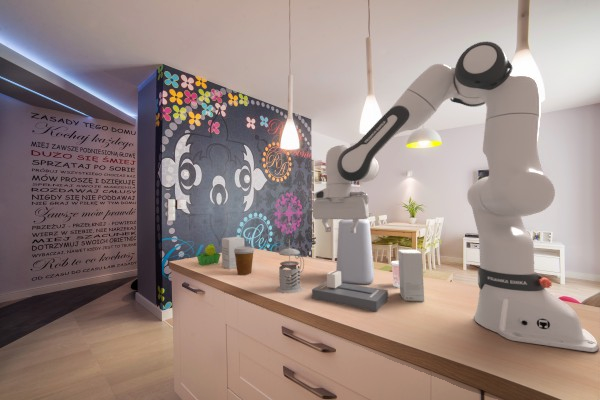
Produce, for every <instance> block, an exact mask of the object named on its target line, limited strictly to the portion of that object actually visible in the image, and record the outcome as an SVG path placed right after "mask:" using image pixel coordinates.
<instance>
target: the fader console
mask: <svg viewBox="0 0 600 400" xmlns="http://www.w3.org/2000/svg"><path fill="white" fill-rule="evenodd" d="M311 298H312V299H315V300H319V301H324V302H329V303H334V304H338V305H343V306H347V307H353V308H356V309H362V310H367V311H371V312H376V313H377V312H378V311H379V310H380V309H381V308H382V306H384V305H385V303H386V302H387V301H388V299H389V291H388V289H383V288H377V287H370V286H365V285H360V284H354V283H343V282H341V285H340V286H338V287H336V288H331V287H327V280H326V281H324V282H323V283H321V284H319V285H318V286H315V287H314V288H312V289H311Z"/></svg>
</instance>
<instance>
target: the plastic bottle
mask: <svg viewBox="0 0 600 400" xmlns="http://www.w3.org/2000/svg"><path fill="white" fill-rule="evenodd" d="M370 224H371V222H370V220H369V219H368V218H367V219H359V223H358V225H357V227H356V233H350V228H351V227H353V225H354V223H353V219H340V221H338V228H337V229H338V230H337V232H338V233H337V235H338V236H337V249H336V250H337V251H336V268H335V269H336V270H335V271H341V283H347V284H353V285H369V284H372V283H373V282H374V279H375V267H374V257H373V247H372V246H373V244H372V234H371V225H370Z"/></svg>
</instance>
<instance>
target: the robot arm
mask: <svg viewBox="0 0 600 400" xmlns="http://www.w3.org/2000/svg"><path fill="white" fill-rule="evenodd" d="M513 68H514V66H513V65H512V63H511V62H510V61H509V59H508V58H507V56H506V54H505V52H504V50H503V48H501V47H500V45H498V44H497V43H495V42H492V41H481V42H476V43H474V44H471V45H470V46H469V47H468V48H466V49H465V50H464V51H463V52H462V53H461V55H460V56H459V58H458V60H457V62H456V64H455V67H449V66H448V65H447V64H443V63H435V64H433V65H430V66H429V67H428V68H426V69H425V70H424V71H423V72H422V73H421V74H420V75H418V77H417V78H416V79H415V80H413V82H412V83H411V84H410V85H409V86H408V88H406V90H405V91H404V92H403V93H402V95H400V97H399V99H397V100H396V102H395V103H394V104H393V105H392V106H391V107H390V108H389V109H388V110H387V111H386V112H385V114H383V116H382V117H381V118H380V119H379V120H377V121H376V123H375V124H374V125H373V126H371V128H370V129H369V130H368V131H367V132H366V134H364V136H362V137H361V139H359V141H357V142H356V143H355V144H354V145H351V146H350V147H349V146H347V145H344V144H343V145H336V146H334V147H331V148H330V149H328V151H326V157H325V175H326V183H325V188H323V189H321V190H318V191H316V192H314V193H313V198H314V200H313V204H312V217H313V219H314V220H321V223H322V225H323V226H324V229H325V232H326V233H331V232H332V226H329V224H328V222H329V220H343V219H353V223H354V225H353V227H351V228H350V233H356V227H357V225H358V223H359V219H367V220H368V218H369V217H370V211H369V210H370V209H369V195H368V194H367V193H366V192H364V191H352V190H353V189H352V188H353V187H352V182H361V183H366V182H371V181H373V180H374V179H375V178H376V177H377V176H378V174H379V172H380V163H379V161H378V160H377V159H376V155H377V154H379V152H380V151H381V150H382V149H383V148H384V147H385V146H386V145H387V144H388V143H389V142H390V141H391V140H392V139H393V138H395V136H397V135H398V134H400V133H402V132H405V131H413V130H416V129H418V128H420V127H421V126H422V125H424V124H425V123H426V122H427V121H428V120H429V119H430V118H431V117H433V116H434V114H435V113H436V112H437V111H438V110H439V108H441V106H442V105H443V104H444V103H445V102H446V101H448V100H450V101H451V102H453V103H457V104H460V105H463V106H466V107H471V108H472V107H473V108H476V107H481V106H483V105H485V107H486V114H485V121H484V122H485V123H484V132H483V142H482V152H483V154H484V155H485V157H486V160H487V165H488V176H485V177H482V178H481V177H480V178H479V179H478V180H476V181H475V182H474V183H473V184H472V185H471V186H470V187H469V189H468V191H467V194H466V195H467V201H468V204H469V206H470V207H471V209H472V213H473V217H474V223H475V226H476V230H477V236H478V244H479V245H478V247H479V266H478V269H477V285H478V288H479V293H478V294H479V295H478V300H477V301H478V302H477V305H476V306H477V307H476V311H475V314H474V316H473V319H474V321H475V322H476V323H478V324H479V325H480V326H482V327H484V328H485V329H487V330H490V331H493V332H495V333H497V334H498V335H500V336H502V337H503V338H505V339H507V340H510V341H515V342H522V343H527V344H536V345H541V346H542V345H543V346H547V347H549V346H550V347H553V348H554V347H555V348H562V349H569V350H576V351H580V352H581V351H583V352H590V353H594V352H597V351H598V349H599V345H598V342H597V340H596V338H595V337H594V335H592V334H591V332H589V331H588V330H586V329H585V328H583V327H582V323H581V321H580V318H579V316H578V314H577V312H576V311H575V310H574V309H573V308H572V307H571V306H570V305H569V304H567V303H566V302H565V301H563V300H561V299H560V298H559V297H557V296H556V295H554V294H553V293H551V291H549V290H547V289H550V288H551V287H552V286H553V283H552V281H551V280H550V279H549V278H547V277H545V276H543V275H542V274H540V273H538V272H536V271H535V254H534V253H535V249H534V248H535V247H534V240H533V238H532V237H531V235H530V234H529V233H528V232H527V230H526V227H525V225H524V223H523V220H522V218H523V217H526V216H527V217H528V216H531V215H534V214H539V213H542V212H543V211H545V210H546V209H548V208H549V207H550V206H551V205H552V203H553V201H554V199H555V196H556V195H555V194H556V189H555V186H554V184H553V182H552V180H551V179H550V178H549V177H548V176H546V175H545V174H544V171H543V169H542V168H543V167H542V166H541V162H540V157H539V151H538V150H539V149H538V148H539V147H538V143H539V142H538V141H539V130H540V129H539V128H540V119H541V93H540V86H539V83H538V82H539V81H538V80H537V79H536V78H535V77H533V76H531V75H526V74H517V75H516V74H515V75H514V74H511V73H512V71H513Z"/></svg>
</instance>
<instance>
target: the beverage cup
mask: <svg viewBox="0 0 600 400" xmlns="http://www.w3.org/2000/svg"><path fill="white" fill-rule="evenodd" d="M398 250H401V249H399V248H398V249H397V251H398ZM390 265H391V268H392V270H391V271H392V283H393V286H394V287H395V288H398V289H400V280H399V260H392V261H391V262H390Z"/></svg>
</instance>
